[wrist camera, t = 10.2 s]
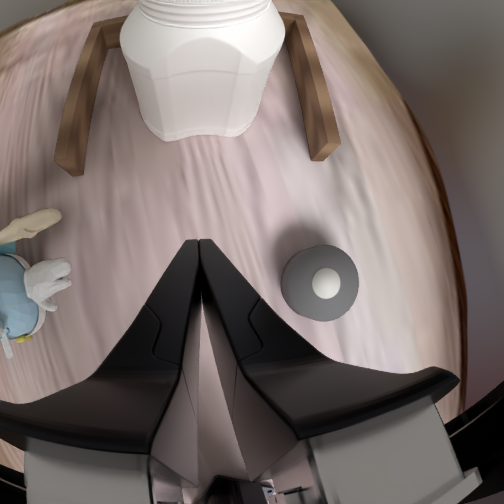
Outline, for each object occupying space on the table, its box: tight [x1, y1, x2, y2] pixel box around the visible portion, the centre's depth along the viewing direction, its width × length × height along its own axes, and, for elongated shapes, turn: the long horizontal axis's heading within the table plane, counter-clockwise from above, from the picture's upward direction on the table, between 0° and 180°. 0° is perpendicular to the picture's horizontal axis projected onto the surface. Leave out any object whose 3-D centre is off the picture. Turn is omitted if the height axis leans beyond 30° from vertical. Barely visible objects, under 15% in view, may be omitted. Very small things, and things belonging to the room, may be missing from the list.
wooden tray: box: [54, 12, 341, 177], centre depth 22 cm, size 18×23×4 cm
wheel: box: [281, 245, 359, 321], centre depth 23 cm, size 6×6×3 cm
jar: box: [120, 0, 285, 142], centre depth 17 cm, size 12×10×15 cm
